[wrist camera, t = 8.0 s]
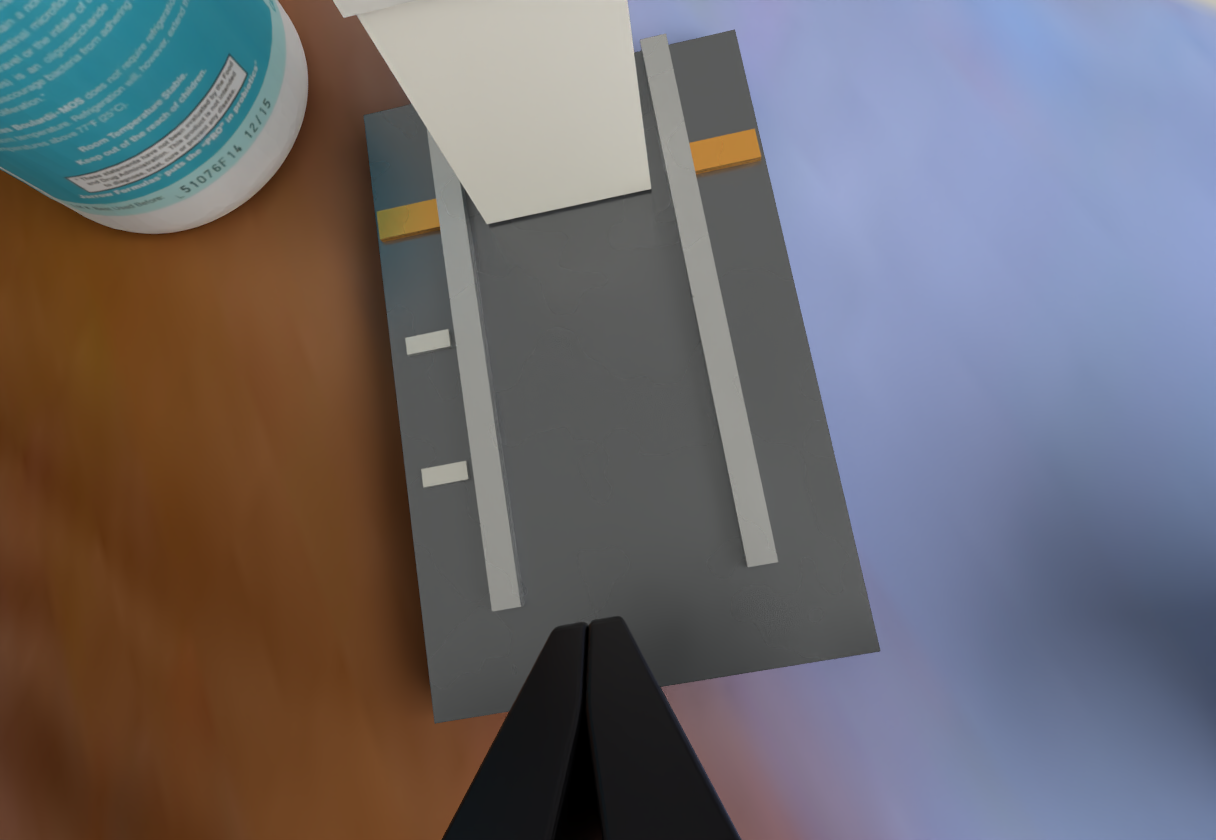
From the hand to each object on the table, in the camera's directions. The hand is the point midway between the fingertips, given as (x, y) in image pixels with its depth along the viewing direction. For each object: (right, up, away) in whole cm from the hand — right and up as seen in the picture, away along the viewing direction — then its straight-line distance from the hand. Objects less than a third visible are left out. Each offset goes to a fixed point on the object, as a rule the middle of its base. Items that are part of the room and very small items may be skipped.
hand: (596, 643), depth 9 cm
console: (0, +4, +8) cm, 9 cm away
